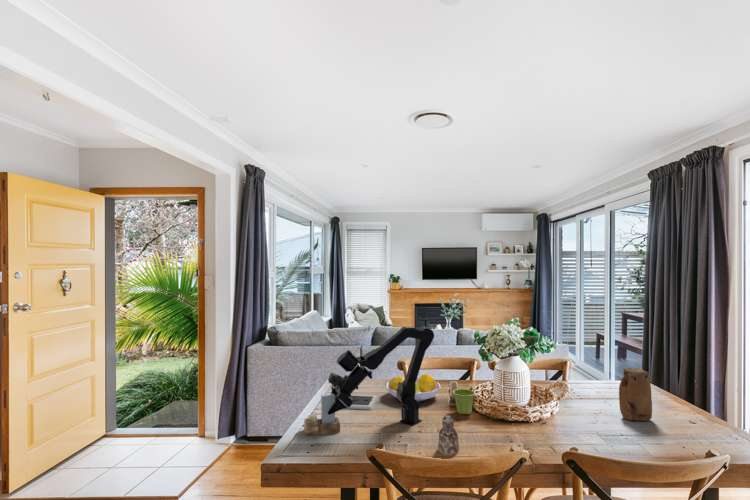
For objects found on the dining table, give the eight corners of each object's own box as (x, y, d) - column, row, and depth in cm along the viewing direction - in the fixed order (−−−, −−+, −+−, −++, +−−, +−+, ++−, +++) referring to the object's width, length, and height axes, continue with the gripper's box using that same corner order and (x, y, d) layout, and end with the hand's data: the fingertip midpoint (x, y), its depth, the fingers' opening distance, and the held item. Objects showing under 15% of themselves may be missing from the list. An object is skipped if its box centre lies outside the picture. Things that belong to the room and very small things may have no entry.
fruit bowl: (394, 387, 217) (394, 365, 217) (445, 391, 208) (445, 369, 208) (376, 404, 190) (376, 379, 191) (434, 410, 181) (434, 384, 182)
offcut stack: (317, 425, 163) (316, 413, 163) (318, 431, 157) (318, 418, 157) (304, 427, 162) (304, 414, 162) (305, 432, 156) (305, 420, 156)
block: (641, 414, 173) (639, 366, 174) (655, 421, 165) (653, 371, 166) (617, 416, 172) (615, 367, 173) (630, 422, 164) (628, 372, 165)
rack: (337, 426, 165) (337, 417, 165) (340, 432, 159) (339, 423, 159) (304, 429, 162) (304, 420, 162) (305, 435, 156) (305, 426, 156)
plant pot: (466, 417, 172) (466, 396, 172) (449, 412, 179) (448, 392, 179) (479, 412, 178) (479, 392, 179) (462, 407, 185) (461, 387, 186)
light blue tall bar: (334, 428, 163) (333, 393, 163) (335, 431, 160) (334, 396, 161) (321, 429, 162) (321, 394, 162) (322, 432, 159) (321, 397, 159)
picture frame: (326, 409, 187) (371, 411, 183) (326, 403, 187) (371, 405, 183) (335, 398, 202) (377, 400, 199) (335, 392, 202) (377, 394, 199)
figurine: (436, 453, 140) (435, 417, 141) (440, 444, 147) (439, 410, 147) (457, 456, 138) (456, 420, 138) (460, 447, 144) (459, 413, 145)
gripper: (336, 360, 172) (310, 389, 169) (343, 371, 154) (314, 404, 151) (355, 378, 174) (329, 407, 171) (364, 391, 155) (335, 423, 152)
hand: (326, 409), depth 161 cm, fingers open, 9 cm apart
